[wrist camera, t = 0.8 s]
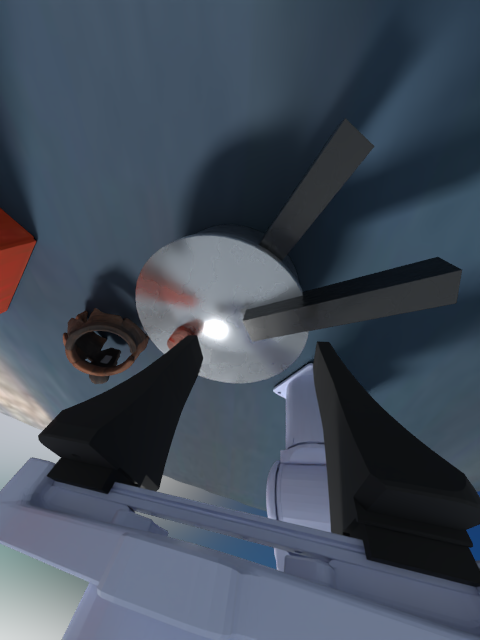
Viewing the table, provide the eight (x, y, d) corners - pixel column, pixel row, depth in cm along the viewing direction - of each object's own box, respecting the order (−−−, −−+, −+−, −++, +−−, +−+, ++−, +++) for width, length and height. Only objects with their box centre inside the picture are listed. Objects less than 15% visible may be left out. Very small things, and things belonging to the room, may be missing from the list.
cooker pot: (238, 368, 29) (231, 399, 25) (150, 318, 26) (126, 343, 22) (409, 208, 15) (454, 220, 11) (256, 65, 12) (241, 13, 8)
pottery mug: (75, 289, 27) (45, 315, 20) (152, 297, 31) (149, 322, 24) (80, 362, 31) (58, 404, 24) (147, 361, 35) (143, 398, 28)
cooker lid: (193, 381, 24) (185, 400, 22) (108, 270, 17) (84, 283, 15) (424, 353, 16) (443, 379, 14) (444, 116, 9) (490, 100, 7)
